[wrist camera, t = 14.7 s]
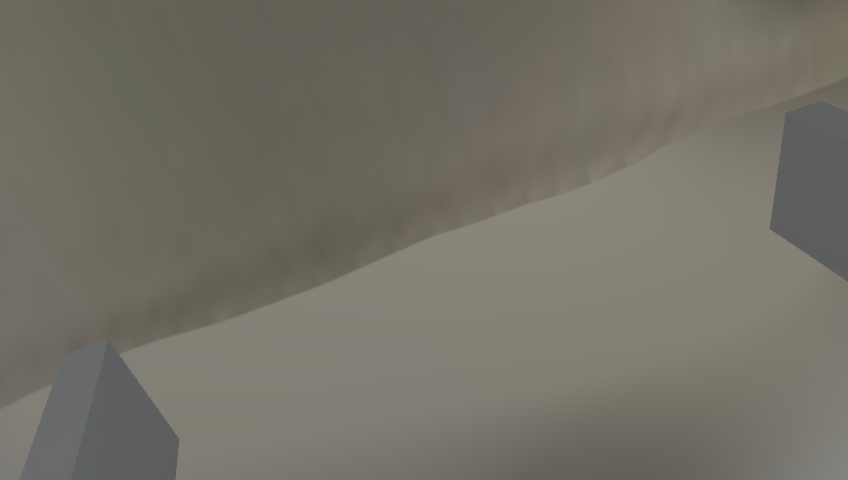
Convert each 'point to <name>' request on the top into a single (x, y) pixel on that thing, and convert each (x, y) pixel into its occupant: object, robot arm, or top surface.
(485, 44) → the top surface
